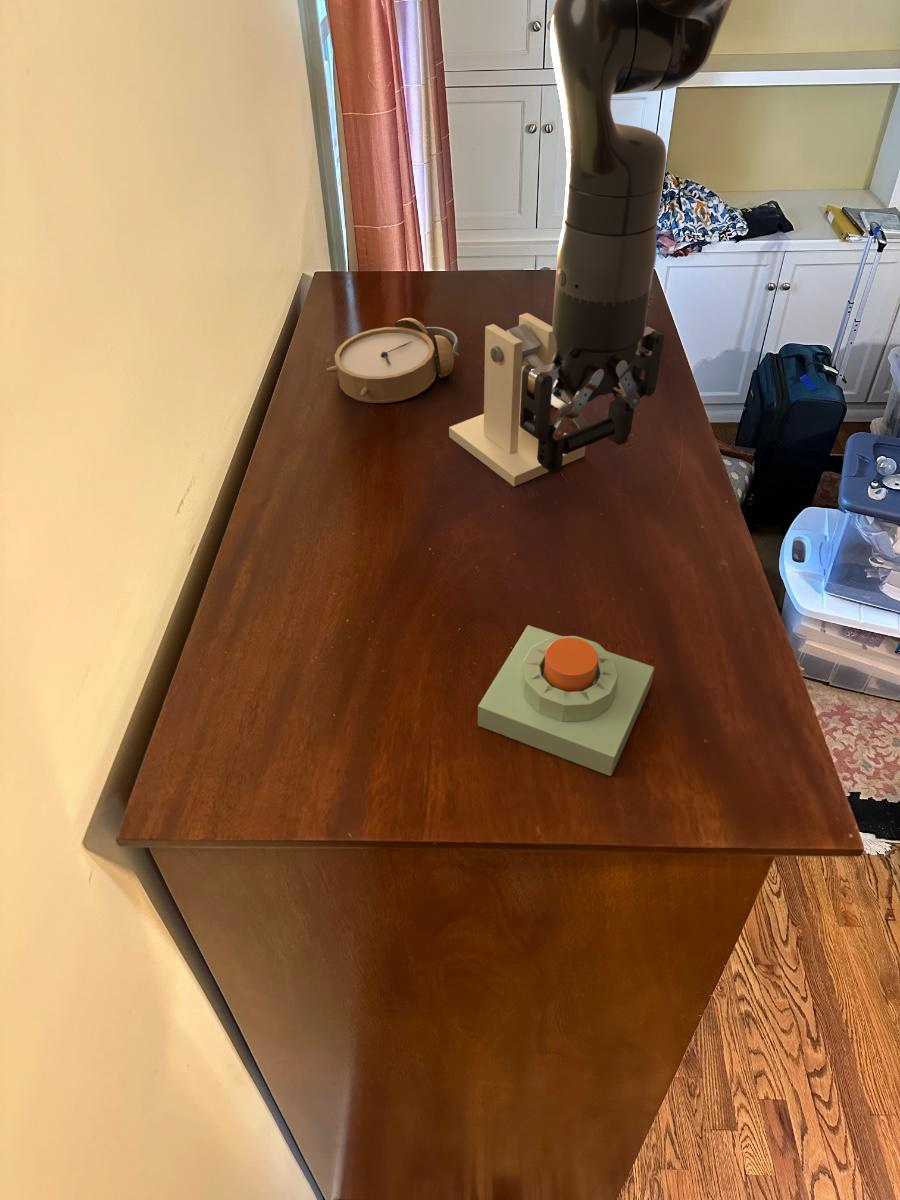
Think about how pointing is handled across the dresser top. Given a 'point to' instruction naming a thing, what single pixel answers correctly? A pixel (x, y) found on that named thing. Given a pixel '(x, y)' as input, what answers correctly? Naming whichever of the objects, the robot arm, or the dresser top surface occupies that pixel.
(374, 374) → the alarm clock
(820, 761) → the dresser top surface
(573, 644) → the button
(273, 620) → the dresser top surface
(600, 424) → the lever
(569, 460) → the bracket
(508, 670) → the button block
